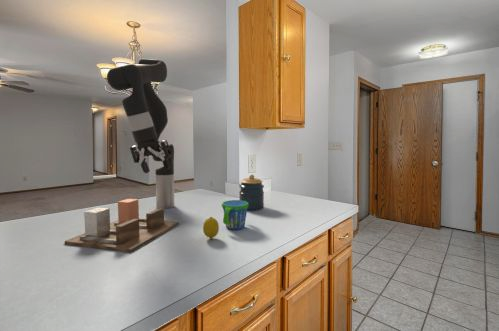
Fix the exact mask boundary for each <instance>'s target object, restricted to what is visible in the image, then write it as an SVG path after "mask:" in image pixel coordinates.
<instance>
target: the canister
mask: <svg viewBox="0 0 499 331" xmlns="http://www.w3.org/2000/svg"><path fill="white" fill-rule="evenodd" d="M240 183H241V184H239V186H238V187H239V191H238V193H239V196H238V198H239V199H238V200H241V201H246V202H248V203H249V206H248V208H247V212H256V211H261V210H264V206H265V203H264V202H265V200H264V198H265V196H264V193H265V192H264V187H265V185H264V184H263V180H261V179H260V178H255V176H254V174H250V175H249V176H248V177H246V178H243V179H242V180H240Z"/></svg>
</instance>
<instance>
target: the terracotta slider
mask: <svg viewBox="0 0 499 331" xmlns="http://www.w3.org/2000/svg"><path fill="white" fill-rule="evenodd" d="M139 207H140V206H139V198H138V199H137V198H126V199H123V200H119V201H117V216H118V217H117V218H118V220H117V221H119V223H125V222H127V221H129V220H132V219H139V218H140V213H139V210H140V209H139Z"/></svg>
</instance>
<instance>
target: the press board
mask: <svg viewBox="0 0 499 331" xmlns="http://www.w3.org/2000/svg"><path fill="white" fill-rule="evenodd" d="M145 214H146V216H145V218H141V217H139V219H132V220H129V221H127V222H125V223H119V221H118V220H115V221H112V222H110V233H109V234H107V235H104V236H102V237H100V238H99V237H91V236H85V232H84V233H82V234H80V235H77V236H74V237H72V238H69V239H65V241H64V245H71V246H78V247H85V248H92V249H101V250H110V251H117V252H123V253H124V252H126V253H133V252H134V251H136V250H138V249H140V248H142V247H143V246H145V245H147V244H148V243H150V242H151V241H153V240H155V239H157V238H159V237H160V236H162V235H164V234H165V233H167V232H168V231H171V230H172V229H173V228H175V227H178V226H179V225H180V221H173V220H165V208H156V209H153V210H151V211H149V212H147V213H145Z"/></svg>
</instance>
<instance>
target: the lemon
mask: <svg viewBox="0 0 499 331" xmlns="http://www.w3.org/2000/svg"><path fill="white" fill-rule="evenodd" d="M219 226H220V224H219V222H218V220H217V219H216V218H214V217H212V216H210V217H209V218H206V219H205V221H204V223H203V226H202V230H203V234H204V235H205V237H207V238H209V239H210V240H211V239H213V238H215V237H216V236H217V235H218V233H219V230H220V227H219Z"/></svg>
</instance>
